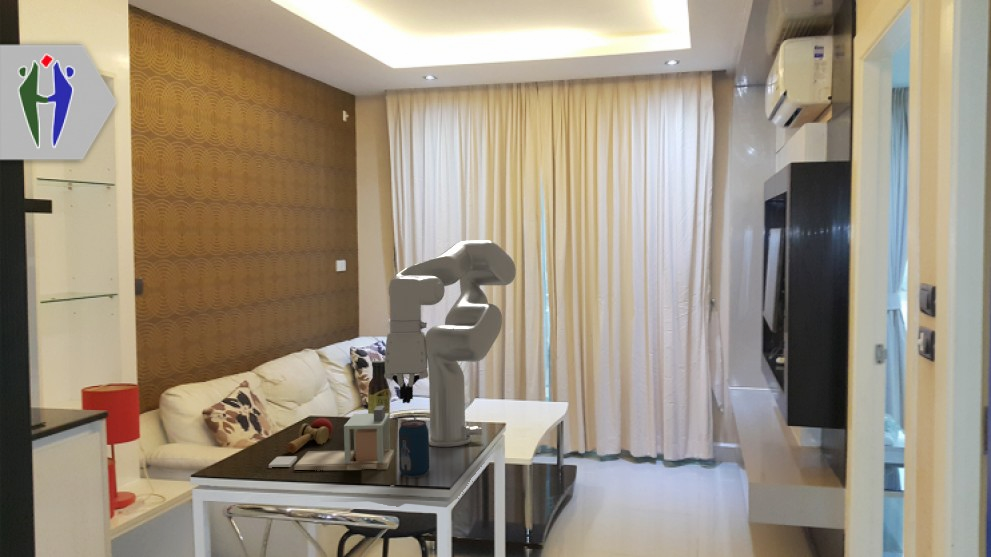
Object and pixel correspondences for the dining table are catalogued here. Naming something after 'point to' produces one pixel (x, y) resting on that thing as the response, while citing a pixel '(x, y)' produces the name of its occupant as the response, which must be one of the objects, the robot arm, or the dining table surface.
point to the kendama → (311, 434)
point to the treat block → (366, 445)
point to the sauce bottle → (378, 389)
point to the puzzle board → (339, 461)
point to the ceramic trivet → (283, 461)
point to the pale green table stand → (369, 422)
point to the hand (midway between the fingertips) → (406, 402)
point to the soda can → (414, 448)
